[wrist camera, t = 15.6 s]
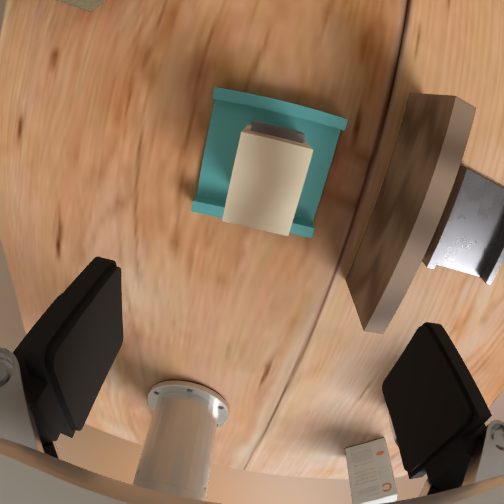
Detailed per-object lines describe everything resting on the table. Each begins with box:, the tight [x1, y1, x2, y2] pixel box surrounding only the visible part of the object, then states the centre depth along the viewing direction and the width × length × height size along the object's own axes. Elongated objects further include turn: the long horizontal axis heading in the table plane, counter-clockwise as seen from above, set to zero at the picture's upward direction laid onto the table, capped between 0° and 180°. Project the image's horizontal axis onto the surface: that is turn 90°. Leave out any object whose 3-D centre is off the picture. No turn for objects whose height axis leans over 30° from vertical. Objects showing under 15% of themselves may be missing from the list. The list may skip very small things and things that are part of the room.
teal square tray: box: [191, 87, 348, 238], centre depth 26 cm, size 11×11×2 cm
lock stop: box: [222, 120, 313, 236], centre depth 23 cm, size 4×7×8 cm
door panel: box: [346, 94, 476, 334], centre depth 24 cm, size 20×2×8 cm, turn 167°
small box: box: [345, 438, 397, 504], centre depth 44 cm, size 8×6×13 cm
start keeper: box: [422, 165, 504, 285], centre depth 28 cm, size 11×11×2 cm
